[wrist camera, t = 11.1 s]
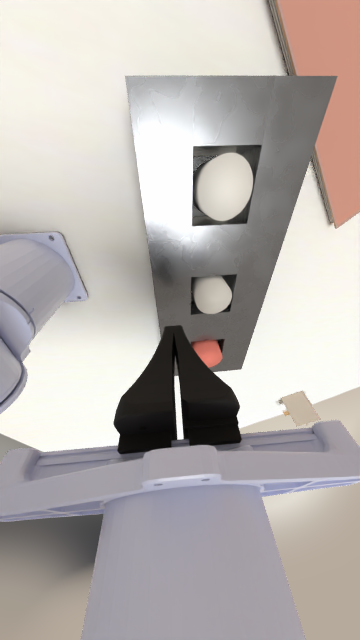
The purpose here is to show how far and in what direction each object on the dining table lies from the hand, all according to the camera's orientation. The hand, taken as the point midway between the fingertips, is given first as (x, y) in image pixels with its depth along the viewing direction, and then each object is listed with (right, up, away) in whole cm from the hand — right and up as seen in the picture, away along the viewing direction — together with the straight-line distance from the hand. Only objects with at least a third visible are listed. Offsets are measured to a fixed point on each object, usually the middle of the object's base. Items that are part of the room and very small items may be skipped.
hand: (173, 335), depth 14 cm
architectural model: (+31, -19, +33) cm, 49 cm away
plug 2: (+4, +6, +8) cm, 11 cm away
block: (+4, +7, +8) cm, 11 cm away
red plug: (+4, -1, +13) cm, 14 cm away
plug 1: (+3, +14, +2) cm, 14 cm away
